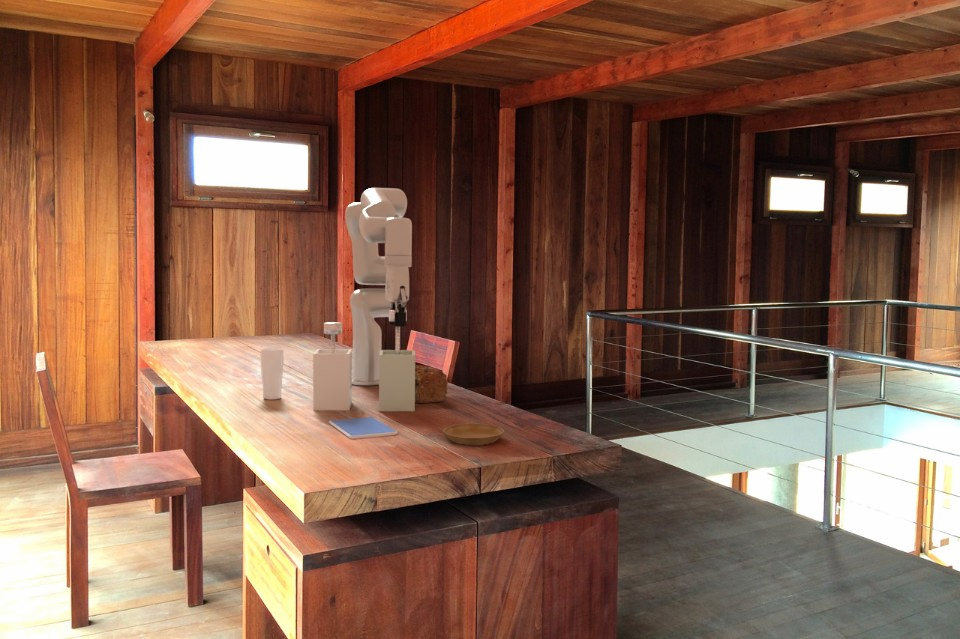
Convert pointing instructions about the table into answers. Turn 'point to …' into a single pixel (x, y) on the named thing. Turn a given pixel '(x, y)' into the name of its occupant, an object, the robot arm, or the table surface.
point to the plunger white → (332, 332)
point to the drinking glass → (272, 372)
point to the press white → (332, 379)
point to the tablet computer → (362, 428)
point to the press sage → (397, 380)
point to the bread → (430, 384)
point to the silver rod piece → (392, 319)
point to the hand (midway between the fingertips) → (397, 324)
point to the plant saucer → (473, 433)
